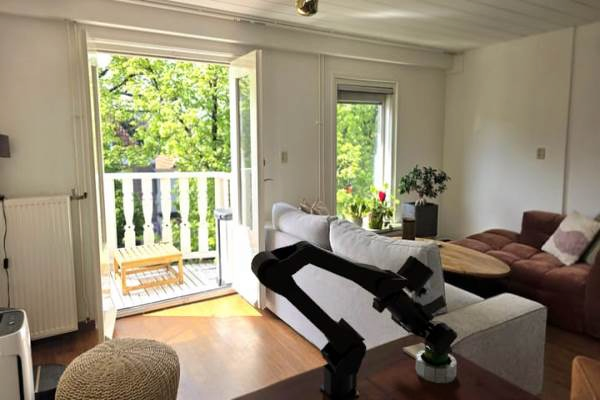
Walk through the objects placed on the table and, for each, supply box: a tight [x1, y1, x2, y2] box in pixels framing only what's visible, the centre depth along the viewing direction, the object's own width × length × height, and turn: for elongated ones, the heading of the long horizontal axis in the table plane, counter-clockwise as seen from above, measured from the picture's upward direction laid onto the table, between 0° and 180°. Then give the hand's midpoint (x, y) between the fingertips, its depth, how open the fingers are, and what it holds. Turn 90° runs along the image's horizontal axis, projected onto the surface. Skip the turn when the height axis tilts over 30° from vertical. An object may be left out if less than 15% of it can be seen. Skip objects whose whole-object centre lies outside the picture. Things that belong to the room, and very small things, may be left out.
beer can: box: [424, 320, 450, 366], centre depth 99 cm, size 5×5×12 cm
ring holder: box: [415, 350, 458, 384], centre depth 100 cm, size 9×9×4 cm
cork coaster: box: [402, 342, 425, 360], centre depth 109 cm, size 6×6×1 cm
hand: (441, 345), depth 100 cm, fingers open, 6 cm apart
